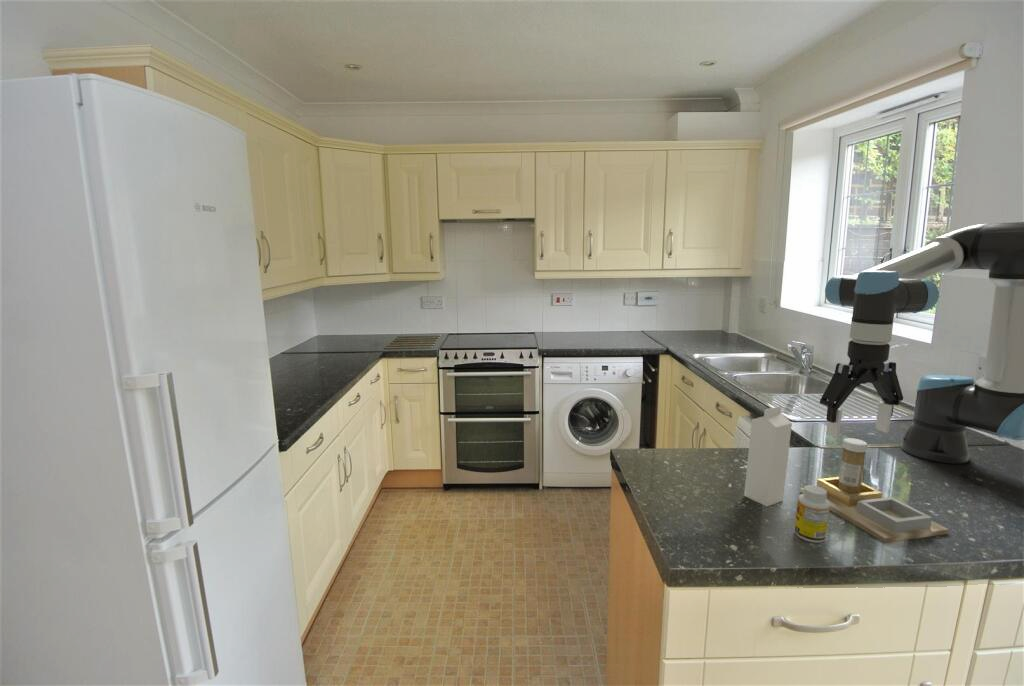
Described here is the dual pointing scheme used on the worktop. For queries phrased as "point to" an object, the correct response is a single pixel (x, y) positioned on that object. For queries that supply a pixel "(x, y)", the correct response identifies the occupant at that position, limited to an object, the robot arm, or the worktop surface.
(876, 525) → the birch socket board
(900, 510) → the grey socket collar
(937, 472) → the worktop surface
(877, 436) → the worktop surface
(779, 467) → the milk
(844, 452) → the sprinkles bottle
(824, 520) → the supplement bottle
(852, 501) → the brass socket collar
